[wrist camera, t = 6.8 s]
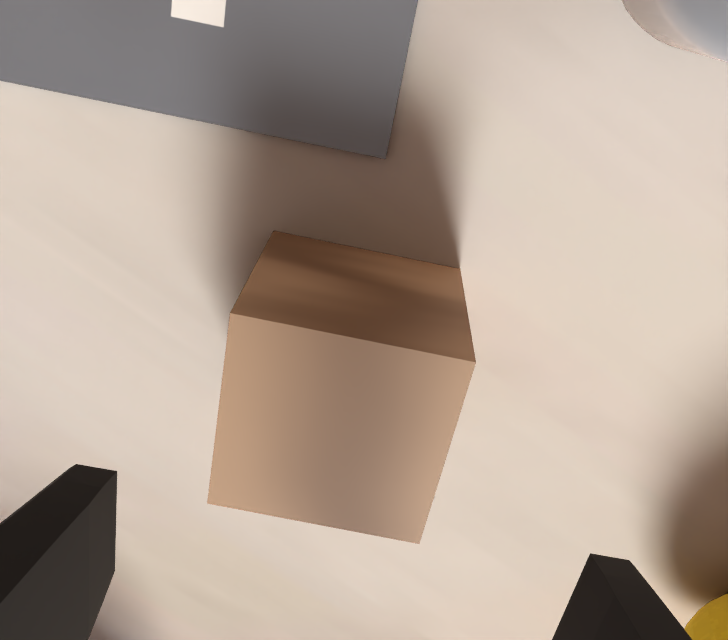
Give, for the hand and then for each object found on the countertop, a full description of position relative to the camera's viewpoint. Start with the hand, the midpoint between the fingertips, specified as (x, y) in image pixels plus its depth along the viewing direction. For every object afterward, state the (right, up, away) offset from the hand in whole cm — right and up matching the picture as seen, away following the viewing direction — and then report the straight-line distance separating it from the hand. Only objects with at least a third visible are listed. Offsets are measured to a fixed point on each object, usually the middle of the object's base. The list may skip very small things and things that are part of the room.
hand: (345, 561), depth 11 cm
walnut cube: (0, +3, +9) cm, 9 cm away
